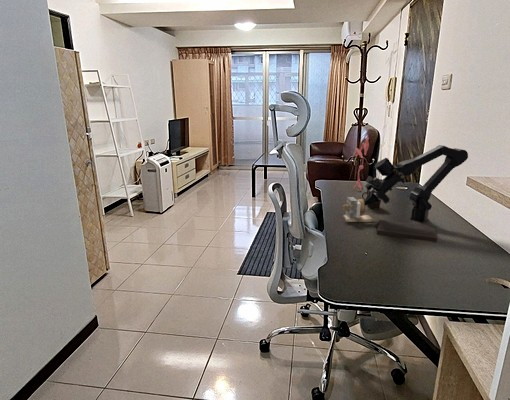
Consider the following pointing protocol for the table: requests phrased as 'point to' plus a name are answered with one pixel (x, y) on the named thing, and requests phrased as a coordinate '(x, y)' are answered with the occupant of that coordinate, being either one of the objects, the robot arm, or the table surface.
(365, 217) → the base
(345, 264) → the table surface
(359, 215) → the spacer
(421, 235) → the hardcover book
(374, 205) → the coffee mug
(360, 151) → the figurine
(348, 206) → the tan egg-shaped dome
